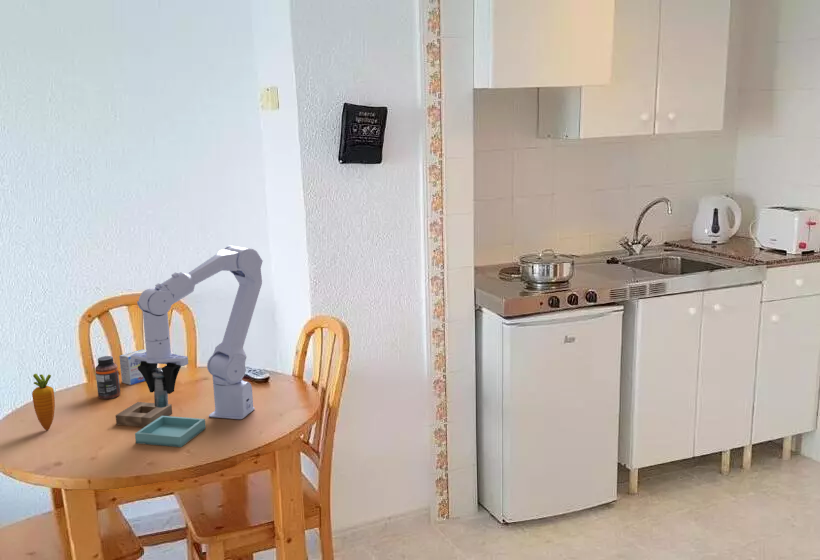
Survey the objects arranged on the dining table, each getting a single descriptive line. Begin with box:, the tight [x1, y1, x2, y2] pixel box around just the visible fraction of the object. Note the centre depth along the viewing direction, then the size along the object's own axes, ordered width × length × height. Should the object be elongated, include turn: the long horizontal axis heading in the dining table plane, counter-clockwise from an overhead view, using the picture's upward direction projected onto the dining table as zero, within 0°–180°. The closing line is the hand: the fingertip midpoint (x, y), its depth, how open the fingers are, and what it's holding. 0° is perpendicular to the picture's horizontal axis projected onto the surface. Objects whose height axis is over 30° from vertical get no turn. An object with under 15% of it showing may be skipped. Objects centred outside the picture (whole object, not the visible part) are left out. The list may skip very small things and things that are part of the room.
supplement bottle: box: [94, 355, 121, 400], centre depth 225 cm, size 6×6×11 cm
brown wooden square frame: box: [115, 401, 173, 428], centre depth 208 cm, size 10×10×2 cm
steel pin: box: [151, 367, 169, 408], centre depth 197 cm, size 4×4×9 cm
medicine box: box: [119, 349, 146, 386], centre depth 239 cm, size 8×4×9 cm, turn 143°
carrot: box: [31, 373, 56, 431], centre depth 200 cm, size 5×5×15 cm
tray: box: [134, 415, 207, 448], centre depth 196 cm, size 12×12×2 cm
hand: (162, 391), depth 197 cm, fingers closed on steel pin, 4 cm apart
